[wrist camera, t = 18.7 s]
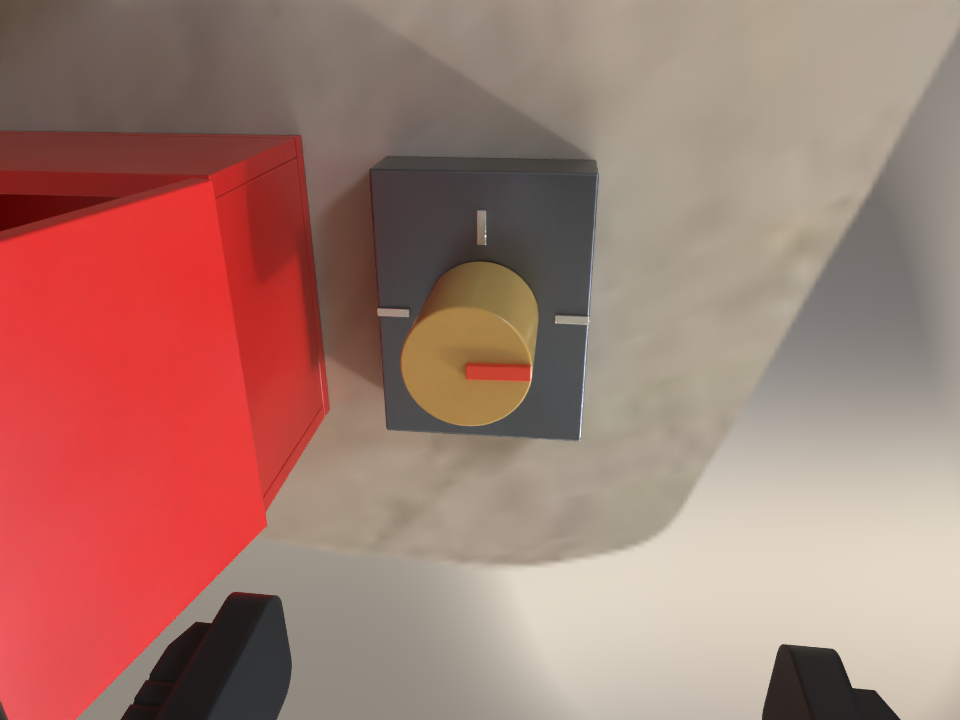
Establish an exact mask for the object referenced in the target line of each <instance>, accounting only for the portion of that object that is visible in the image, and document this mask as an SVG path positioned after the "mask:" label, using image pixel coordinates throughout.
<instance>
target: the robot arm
mask: <svg viewBox="0 0 960 720" xmlns="http://www.w3.org/2000/svg"><path fill="white" fill-rule="evenodd" d="M291 669H292V661H291V654H290V648H289V642H288V636H287V630H286V624H285V618H284V612H283V607H282V602H281V599H280V598H279V597H278V596H275V595H264V594H253V593H243V592H233V593H231V594H230V595H229V596H228V597H227V599H226V600H225V602H224V603H223V605H222V607H221V609H220V610H219V612H218V614H217V615H216V617H215V619H214V620H213V622H212V623H203V622H195V623H194V624H193V625H192V626H191V627H190V628H188V629H187V630H186V631H185V632H184V633H182V634H181V635H180V636H179V637H178V638H177V639H175V640H174V641H173V642H172V643H171V644H170V645H168V647H167V648H166V650H165V651H164V653H163V654H162V656H161V658H160V659H159V661H158V662H157V664H156V665H155V667H154V669H153V670H152V672H151V673H150V678H149V680H146V681H145V683H144V684H143V686H142V687H141V689H140V690H139V692H138V694H137V695H136V697H135V698H134V703H133V705H130V706H129V707H128V709H127V711H126V712H125V714H124V715H123V717H122V718H121V720H276V719H277V717H278V715H279V713H280V710H281V708H282V705H283V703H284V701H285V698H286V695H287V692H288V688H289V684H290V678H291ZM762 720H900V719H899V717H898V716H897V715H896V714H895V713H894V712H893V711H892V709H891V708H890V707H889V706H888V705H887V704H886V703H885V701H883V699H882V698H881V697H880V696H879V695H878V694H877V692H876V691H875V690H866V689H855V688H852V686H851V683H850V681H849V678H848V676H847V673H846V671H845V668H844V666H843V663H842V661H841V658H840V656H839V655H838V653H837V652H836V651H835V650H833V649H828V648H818V647H806V646H796V645H784V644H782V645H781V646H780V647H779V649H778V652H777V656H776V660H775V664H774V668H773V672H772V676H771V680H770V684H769V688H768V692H767V696H766V700H765V704H764V708H763V714H762Z"/></svg>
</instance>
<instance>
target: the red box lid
mask: <svg viewBox="0 0 960 720" xmlns="http://www.w3.org/2000/svg"><path fill="white" fill-rule="evenodd" d="M266 526H267V520H266V514H265V507H264V501H263V495H262V489H261V482H260V476H259V470H258V464H257V457H256V451H255V445H254V439H253V432H252V426H251V420H250V413H249V407H248V401H247V395H246V388H245V382H244V376H243V370H242V363H241V357H240V351H239V345H238V338H237V332H236V326H235V320H234V313H233V307H232V301H231V294H230V288H229V282H228V276H227V269H226V263H225V257H224V251H223V244H222V238H221V232H220V226H219V219H218V213H217V207H216V200H215V194H214V188H213V182H212V180H210V179H200V178H191V179H187V180H184V181H180V182H177V183H173V184H169V185H166V186H162V187H159V188H155V189H152V190H148V191H144V192H141V193H137V194H134V195H130V196H126V197H123V198H119V199H116V200H112V201H108V202H105V203H101V204H98V205H94V206H91V207H87V208H83V209H80V210H76V211H73V212H69V213H65V214H62V215H58V216H55V217H51V218H47V219H44V220H40V221H37V222H33V223H30V224H26V225H22V226H19V227H15V228H12V229H8V230H4V231H1V232H0V720H76V718H78V716H79V715H81V714H82V713H83V711H84V710H85V709H86V708H87V707H88V706H89V705H90V704H91V703H92V702H93V701H94V700H95V699H96V698H97V697H98V696H99V695H100V694H101V693H102V692H103V691H104V690H105V689H106V688H107V687H108V686H109V685H110V684H111V683H112V682H113V681H114V680H115V679H116V678H117V677H118V676H119V675H120V674H121V673H122V672H123V671H124V670H125V669H126V668H127V667H128V666H129V665H130V664H131V663H132V662H133V661H134V660H135V659H136V658H137V657H138V656H139V655H140V654H141V653H142V652H143V651H144V650H145V649H146V648H147V647H148V646H149V644H151V643H152V642H153V641H154V639H155V638H157V636H159V634H160V633H161V632H162V631H163V630H164V629H165V628H166V627H167V626H168V625H169V624H170V623H171V622H172V621H173V620H174V619H175V618H176V617H177V616H178V615H179V614H180V613H181V612H182V611H183V610H184V609H185V608H186V607H187V606H188V605H189V604H190V603H191V602H192V601H193V600H194V599H195V598H196V597H197V596H198V595H199V594H200V593H201V592H202V591H203V590H204V589H205V588H206V587H207V586H208V585H209V584H210V583H211V582H212V581H213V580H214V579H215V578H216V577H217V575H219V574H220V573H221V572H222V571H223V570H224V569H225V567H226V566H228V565H229V563H230V562H232V561H233V559H234V558H235V557H236V556H237V555H238V554H239V553H240V552H241V551H242V550H243V549H244V548H245V547H246V546H247V545H248V544H249V543H250V542H251V541H252V540H253V539H254V538H255V537H256V536H257V535H258V534H259V533H260V532H261V531H262V530H263V529H264V528H265V527H266Z"/></svg>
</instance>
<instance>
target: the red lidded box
mask: <svg viewBox="0 0 960 720" xmlns="http://www.w3.org/2000/svg"><path fill="white" fill-rule="evenodd" d="M191 178H200V179H210V180H212V182H213V188H214V194H215V200H216V207H217V213H218V219H219V226H220V232H221V238H222V244H223V251H224V257H225V263H226V269H227V276H228V282H229V288H230V294H231V301H232V307H233V313H234V320H235V326H236V332H237V338H238V345H239V351H240V357H241V363H242V370H243V376H244V382H245V388H246V395H247V401H248V407H249V413H250V420H251V426H252V432H253V439H254V445H255V451H256V457H257V464H258V470H259V476H260V482H261V489H262V495H263V501H264V507H265V512H266V511H267V509H268V508H269V506H270V504H271V503H272V501H273V500H274V498H275V496H276V495H277V493H278V492H279V490H280V488H281V487H282V485H283V483H284V482H285V480H286V479H287V477H288V475H289V474H290V472H291V471H292V469H293V467H294V466H295V464H296V462H297V461H298V459H299V458H300V456H301V454H302V453H303V451H304V450H305V448H306V446H307V445H308V443H309V441H310V440H311V438H312V437H313V435H314V433H315V432H316V430H317V429H318V427H319V425H320V424H321V422H322V420H323V419H324V417H325V416H326V415H327V413H328V411H329V410H330V409H329V399H328V390H327V380H326V371H325V361H324V351H323V342H322V332H321V323H320V313H319V304H318V294H317V284H316V275H315V265H314V256H313V246H312V237H311V227H310V217H309V208H308V198H307V189H306V179H305V169H304V160H303V150H302V141H301V136H300V135H240V134H177V133H114V132H51V131H0V232H1V231H4V230H8V229H12V228H15V227H19V226H22V225H26V224H30V223H33V222H37V221H40V220H44V219H47V218H51V217H55V216H58V215H62V214H65V213H69V212H73V211H76V210H80V209H83V208H87V207H91V206H94V205H98V204H101V203H105V202H108V201H112V200H116V199H119V198H123V197H126V196H130V195H134V194H137V193H141V192H144V191H148V190H152V189H155V188H159V187H162V186H166V185H169V184H173V183H177V182H180V181H184V180H187V179H191Z"/></svg>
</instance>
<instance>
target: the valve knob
mask: <svg viewBox="0 0 960 720" xmlns="http://www.w3.org/2000/svg"><path fill="white" fill-rule="evenodd" d="M538 318H539V316H538V307H537V303H536V300H535V297H534V295H533V293H532V291H531V289H530V288H529V286H528V285H527V284H526V283H525V281H524V280H523V279H522V278H521V277H519V276H518V275H517V274H516V273H514V272H513V271H511V270H510V269H508V268H506V267H504V266H501V265H498V264H495V263H490V262H469V263H464V264H461V265H458V266H456V267H454V268H452V269H450V270H449V271H447V272H446V273H444V274H443V275H442V276H441V277H440V278H439V279H438V280H437V281H436V283H435V284H434V286H433V287H432V289H431V291H430V293H429V294H428V296H427V298H426V300H425V302H424V304H423V306H422V308H421V310H420V312H419V314H418V316H417V318H416V320H415V321H414V323H413V325H412V327H411V329H410V331H409V333H408V335H407V337H406V339H405V341H404V344H403V347H402V350H401V357H400V367H401V374H402V377H403V381H404V383H405V385H406V388H407V390H408V391H409V393H410V395H411V396H412V398H413V399H414V400H415V401H416V403H417V404H418V405H419V406H420V407H421V408H423V409H424V410H425V411H426V412H428V413H429V414H431V415H432V416H434V417H436V418H438V419H440V420H442V421H445V422H448V423H451V424H455V425H460V426H480V425H486V424H490V423H493V422H495V421H498V420H500V419H502V418H504V417H506V416H507V415H509V414H510V413H511V412H513V411H514V410H515V409H516V408H517V407H518V406H519V405H520V404H521V402H522V401H523V400H524V398H525V396H526V395H527V393H528V390H529V388H530V385H531V380H532V374H533V365H534V356H535V347H536V338H537V329H538Z"/></svg>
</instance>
